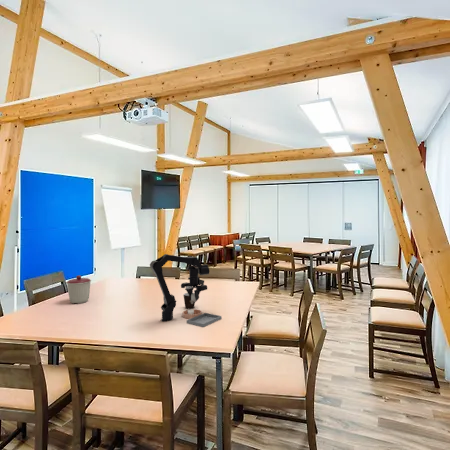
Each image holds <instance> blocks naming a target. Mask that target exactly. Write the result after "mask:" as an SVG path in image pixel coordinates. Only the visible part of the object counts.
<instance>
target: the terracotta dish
mask: <svg viewBox="0 0 450 450" xmlns="http://www.w3.org/2000/svg"><path fill="white" fill-rule="evenodd" d="M188 310H189V309H186V310H184V311H182V313H181V315H182V318H183V319H186V320H189V319H191V318H194V317H196V316H199V315H201V314H203V311H202V310H201V309H196V308H193V310H194V315H188Z"/></svg>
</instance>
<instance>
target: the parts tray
mask: <svg viewBox="0 0 450 450" xmlns="http://www.w3.org/2000/svg"><path fill="white" fill-rule="evenodd" d="M221 320H222V315H218V314H213V313H208V312H204V313H202V314H201V315H199V316H196V317H194V318H191V319H186V324H187V325H192V326H197V327H201V328H205V327H206V326H209V325H212V324H214V323H216V322H218V321H221Z"/></svg>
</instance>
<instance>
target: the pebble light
mask: <svg viewBox="0 0 450 450" xmlns="http://www.w3.org/2000/svg"><path fill="white" fill-rule="evenodd" d="M193 309H194V308H193ZM193 309H187V310H188V315H194V310H193Z"/></svg>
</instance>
